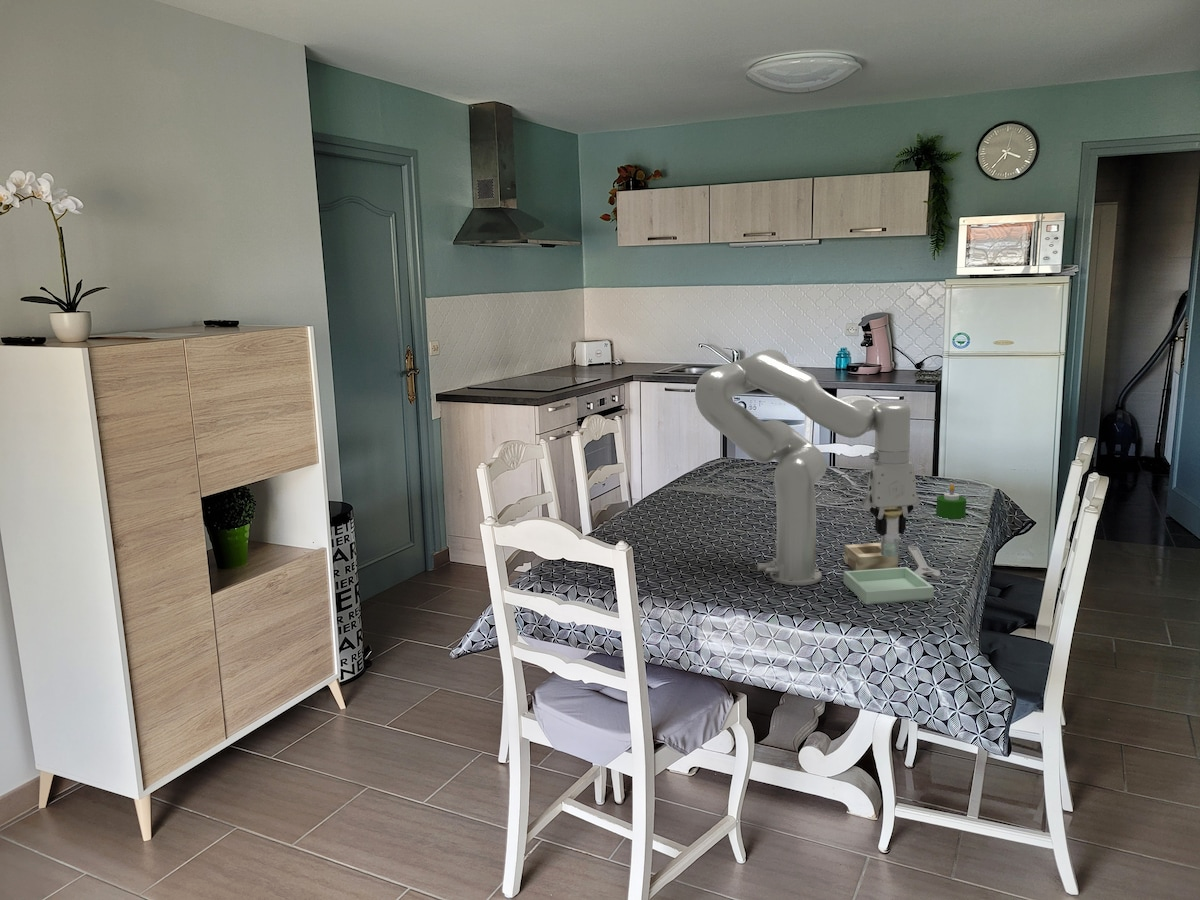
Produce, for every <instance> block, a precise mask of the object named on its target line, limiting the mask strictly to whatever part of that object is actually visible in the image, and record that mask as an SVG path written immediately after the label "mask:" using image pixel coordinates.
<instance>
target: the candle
mask: <svg viewBox="0 0 1200 900" xmlns="http://www.w3.org/2000/svg"><path fill="white" fill-rule="evenodd" d="M948 488H949V492H946V493H945V492H944V494H942V495H938V496H937V497H936V507H935V508H936V509H935V511H936V512H935V516H936V515H937V516H939V517H942V518H948V519H961V518H964V517H965V518H966V512H967V499H966V497H964V496H961V495H960V494H959V493H957V492H955V484H953V483H951V484H950V485H949V487H948ZM937 516H936V517H937ZM939 517H938V518H939ZM942 518H941V519H942ZM965 518H964V519H965ZM961 520H962V519H961Z"/></svg>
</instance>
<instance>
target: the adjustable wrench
mask: <svg viewBox="0 0 1200 900" xmlns="http://www.w3.org/2000/svg"><path fill="white" fill-rule="evenodd" d="M908 551H909V552H908ZM907 552H908V553H909V555H910V554H911V555H910V557H911V556H912V557H911V559H912V558H913V559H912V560H914V561H913V562H914V565H915V566H916V565H917V566H916V569H915V570H913V572H914V573H916V574H917V575H918V576H920V577H921V578H922V579H924V580H925V581H926V582H928V581H927V579H928V577H926V576H931V577H932V578H931V579H933V578H934V579H936V580H939V579H940V580H941V570H938V569H934V568H933V567H930V566H929V565H928V564H927V562H926V559H925V558H924V556H923V554H922V552H921V550H920V548H919V546H916V545H908V546H907ZM917 567H918V568H917ZM934 579H933V580H934ZM936 580H935V581H936ZM940 580H939V581H940Z"/></svg>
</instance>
